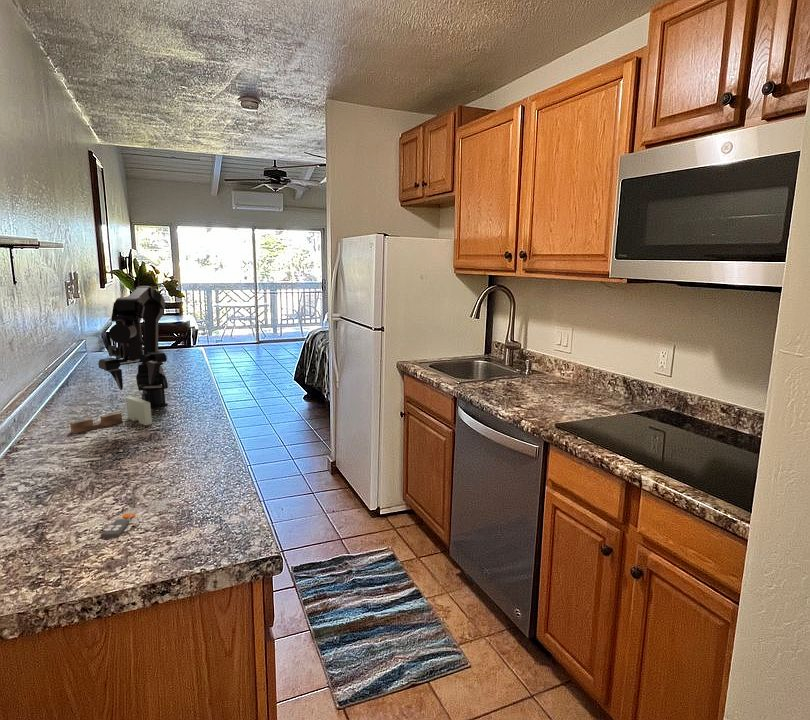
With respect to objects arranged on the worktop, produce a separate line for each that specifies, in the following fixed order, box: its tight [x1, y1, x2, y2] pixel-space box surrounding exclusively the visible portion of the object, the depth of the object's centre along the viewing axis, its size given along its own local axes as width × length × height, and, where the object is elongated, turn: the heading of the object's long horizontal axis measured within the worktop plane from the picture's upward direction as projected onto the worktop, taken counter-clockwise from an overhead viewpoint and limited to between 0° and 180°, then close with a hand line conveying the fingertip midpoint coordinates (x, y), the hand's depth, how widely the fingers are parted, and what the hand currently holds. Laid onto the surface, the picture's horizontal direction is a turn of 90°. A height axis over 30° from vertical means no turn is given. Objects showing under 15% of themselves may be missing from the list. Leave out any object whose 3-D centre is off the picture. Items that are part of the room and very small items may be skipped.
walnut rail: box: [69, 411, 123, 434], centre depth 160 cm, size 14×2×3 cm, turn 142°
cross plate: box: [125, 395, 153, 426], centre depth 166 cm, size 12×2×7 cm, turn 52°
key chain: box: [100, 510, 139, 539], centre depth 103 cm, size 13×4×2 cm, turn 5°
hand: (136, 387), depth 165 cm, fingers open, 9 cm apart
